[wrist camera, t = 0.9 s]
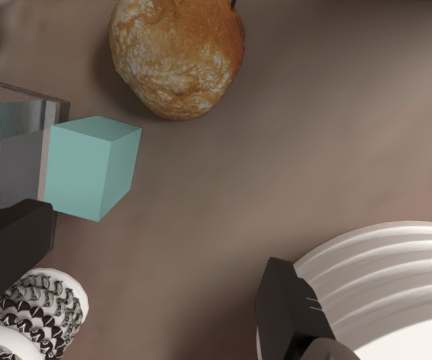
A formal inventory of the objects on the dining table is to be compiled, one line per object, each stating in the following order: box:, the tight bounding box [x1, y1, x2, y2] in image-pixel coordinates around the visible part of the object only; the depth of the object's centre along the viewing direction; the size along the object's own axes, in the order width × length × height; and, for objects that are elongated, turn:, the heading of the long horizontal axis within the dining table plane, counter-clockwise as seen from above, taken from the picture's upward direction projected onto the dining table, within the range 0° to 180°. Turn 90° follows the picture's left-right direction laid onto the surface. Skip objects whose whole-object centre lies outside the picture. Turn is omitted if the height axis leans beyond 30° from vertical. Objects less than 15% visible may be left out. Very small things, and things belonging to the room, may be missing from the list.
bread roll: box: [109, 0, 245, 121], centre depth 22 cm, size 10×10×8 cm
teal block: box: [44, 116, 142, 222], centre depth 23 cm, size 6×4×7 cm, turn 165°
